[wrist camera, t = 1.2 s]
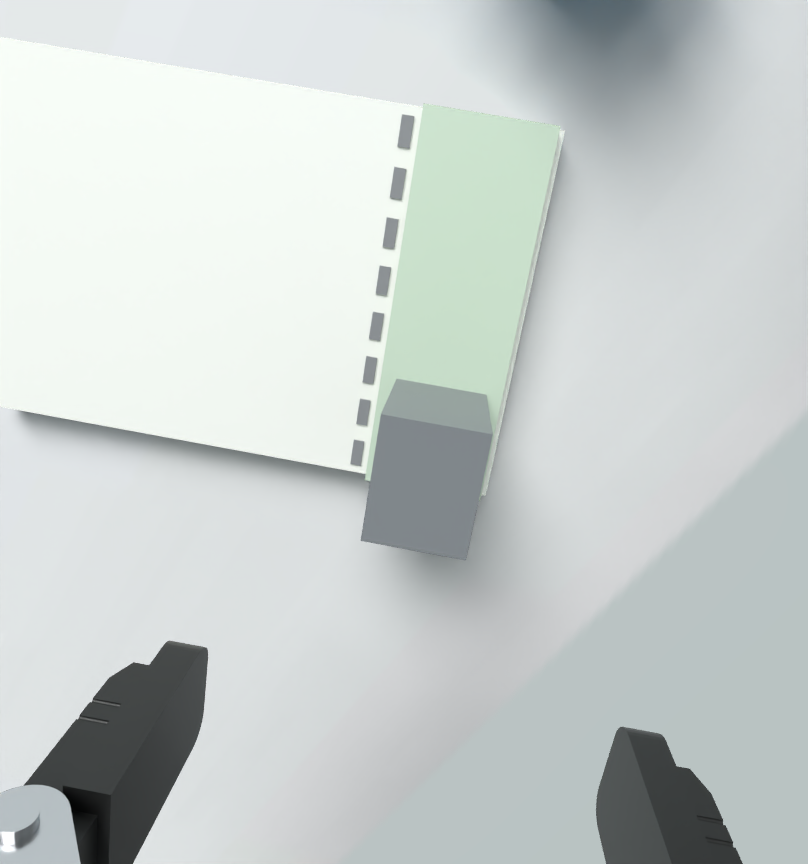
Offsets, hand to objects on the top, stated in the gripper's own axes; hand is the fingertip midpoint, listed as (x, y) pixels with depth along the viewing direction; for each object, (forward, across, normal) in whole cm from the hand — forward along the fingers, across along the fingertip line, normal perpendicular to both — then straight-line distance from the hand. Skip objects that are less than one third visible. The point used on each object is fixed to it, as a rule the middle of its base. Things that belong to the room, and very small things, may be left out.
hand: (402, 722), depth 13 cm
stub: (+18, 0, -6) cm, 19 cm away
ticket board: (+20, +9, -6) cm, 23 cm away
